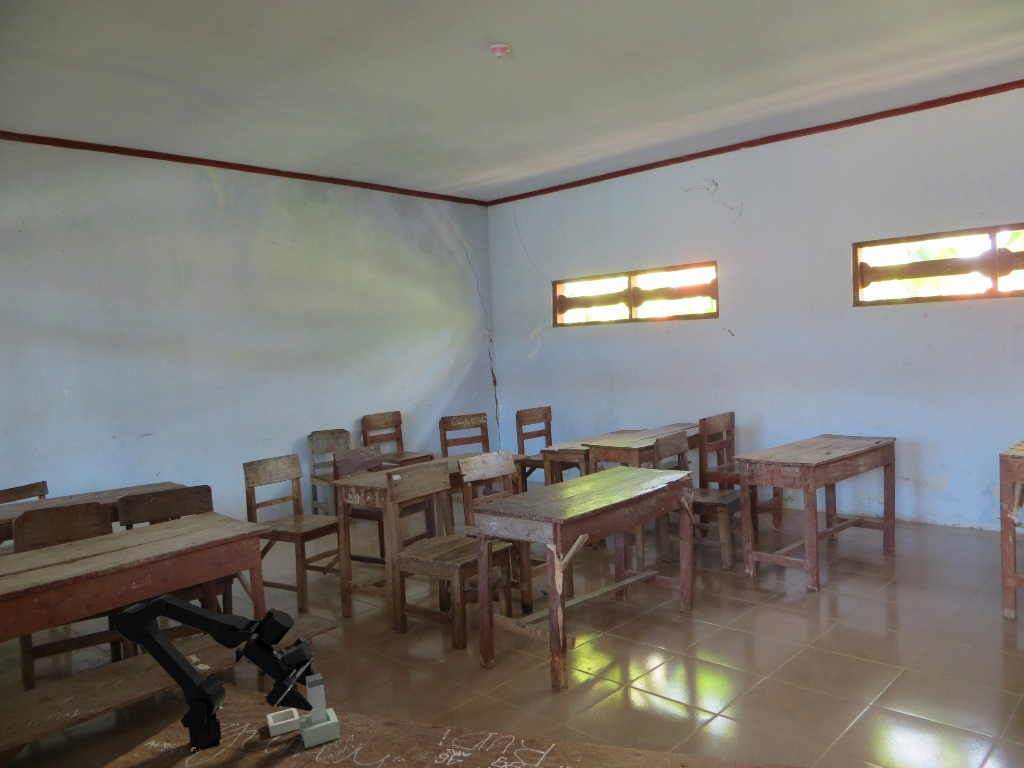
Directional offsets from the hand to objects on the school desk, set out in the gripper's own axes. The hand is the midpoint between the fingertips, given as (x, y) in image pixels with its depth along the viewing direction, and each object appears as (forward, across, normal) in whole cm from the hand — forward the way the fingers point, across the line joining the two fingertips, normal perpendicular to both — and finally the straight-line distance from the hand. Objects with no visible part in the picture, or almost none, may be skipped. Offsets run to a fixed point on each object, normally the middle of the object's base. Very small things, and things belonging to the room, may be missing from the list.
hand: (317, 700), depth 175 cm
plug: (+4, 0, +5) cm, 7 cm away
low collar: (-2, +6, +14) cm, 15 cm away
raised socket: (+6, 0, +6) cm, 8 cm away
